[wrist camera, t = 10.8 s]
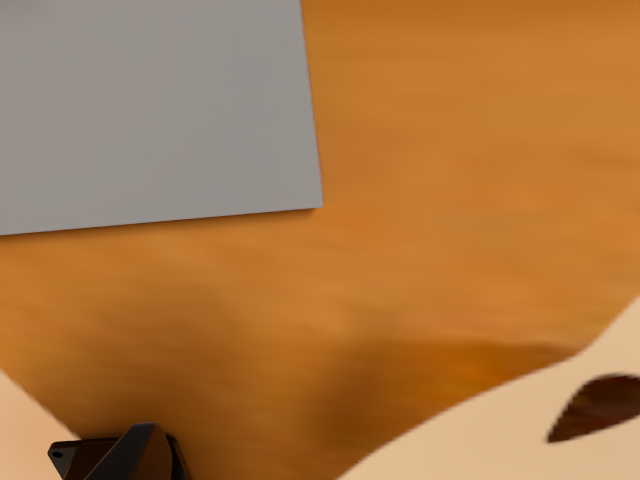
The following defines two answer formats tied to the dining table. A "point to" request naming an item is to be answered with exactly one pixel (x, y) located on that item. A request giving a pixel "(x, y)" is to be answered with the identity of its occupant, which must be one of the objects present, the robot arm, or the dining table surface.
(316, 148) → the grey base plate
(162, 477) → the robot arm
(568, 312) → the dining table surface
